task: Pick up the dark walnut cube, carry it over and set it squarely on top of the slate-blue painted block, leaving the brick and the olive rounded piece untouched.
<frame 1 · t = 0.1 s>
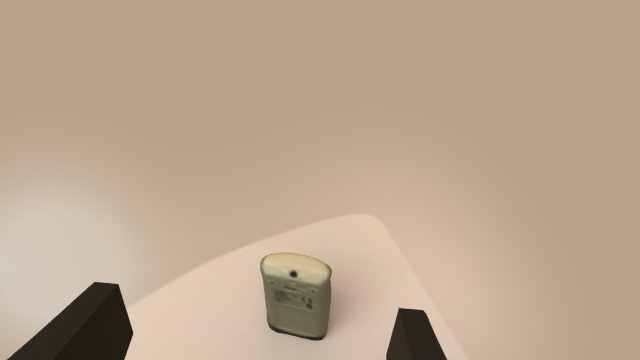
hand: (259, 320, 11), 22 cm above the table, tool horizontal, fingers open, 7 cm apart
olive rounded piece: (294, 328, 37), on the table
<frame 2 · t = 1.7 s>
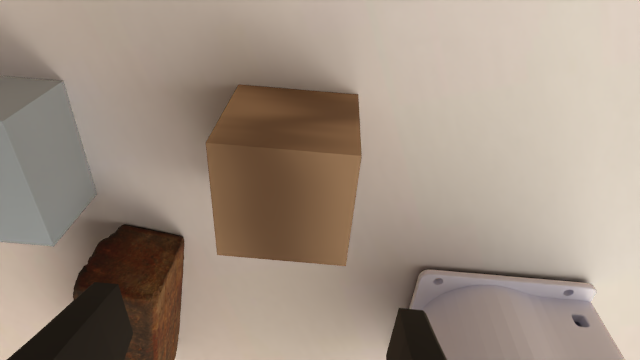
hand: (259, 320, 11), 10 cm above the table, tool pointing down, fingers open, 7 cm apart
walnut cube: (296, 141, 19), on the table
brick: (153, 286, 26), on the table
slate block: (20, 135, 20), on the table
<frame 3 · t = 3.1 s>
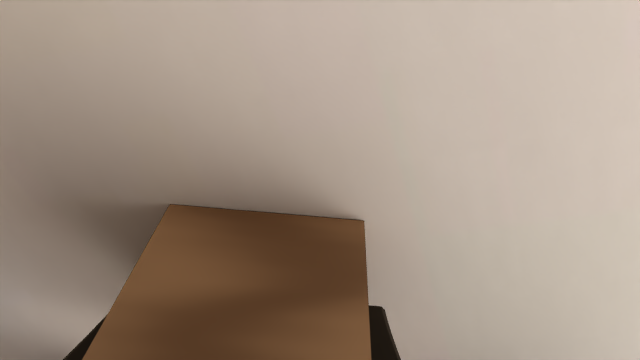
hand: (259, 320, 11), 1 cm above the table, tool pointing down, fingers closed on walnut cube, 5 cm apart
walnut cube: (267, 279, 12), on the table, touching gripper
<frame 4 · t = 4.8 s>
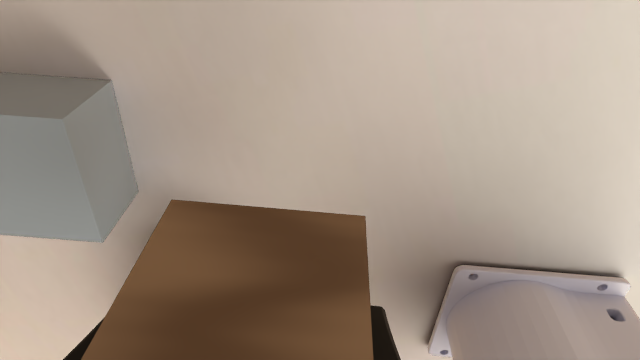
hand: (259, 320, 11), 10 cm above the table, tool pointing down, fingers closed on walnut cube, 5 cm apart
walnut cube: (268, 274, 12), point 8 cm above the table, touching gripper
slate block: (66, 134, 20), on the table
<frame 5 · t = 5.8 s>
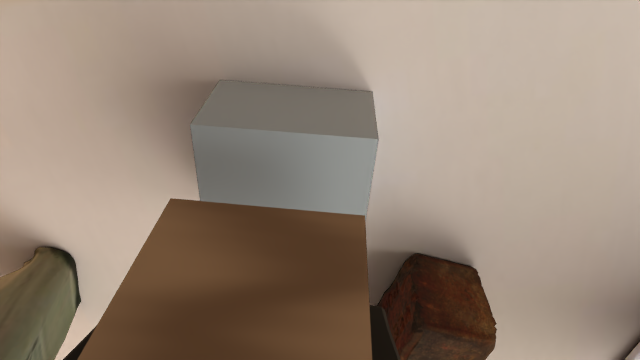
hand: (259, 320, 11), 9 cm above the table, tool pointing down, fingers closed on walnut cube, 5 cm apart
olive rounded piece: (64, 280, 24), on the table
walnut cube: (268, 274, 12), point 7 cm above the table, touching gripper
brick: (402, 314, 24), on the table
slate block: (294, 149, 18), on the table
when the fingers open (7 cm above the table, at t = 6.7 s): walnut cube drops 1 cm, resting on slate block.
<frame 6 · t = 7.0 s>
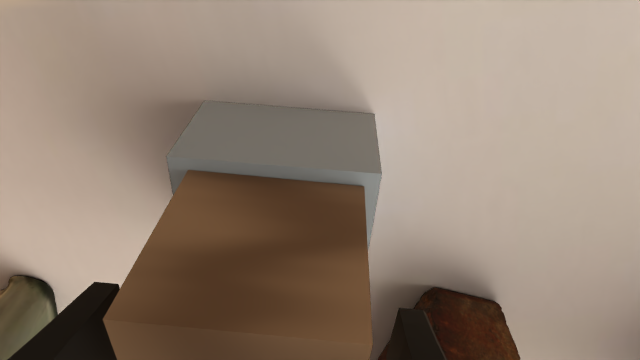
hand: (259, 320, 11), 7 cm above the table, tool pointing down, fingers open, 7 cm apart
olive rounded piece: (42, 309, 22), on the table
walnut cube: (274, 242, 13), point 4 cm above the table, touching slate block
brick: (416, 347, 23), on the table
slate block: (288, 174, 17), on the table, touching walnut cube
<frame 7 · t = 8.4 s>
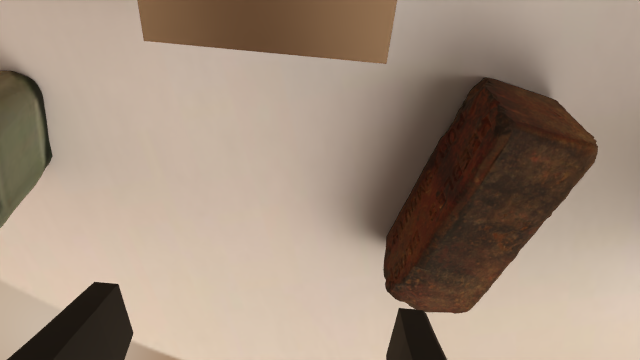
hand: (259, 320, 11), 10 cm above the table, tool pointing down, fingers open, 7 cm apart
olive rounded piece: (31, 126, 20), on the table
brick: (455, 176, 21), on the table
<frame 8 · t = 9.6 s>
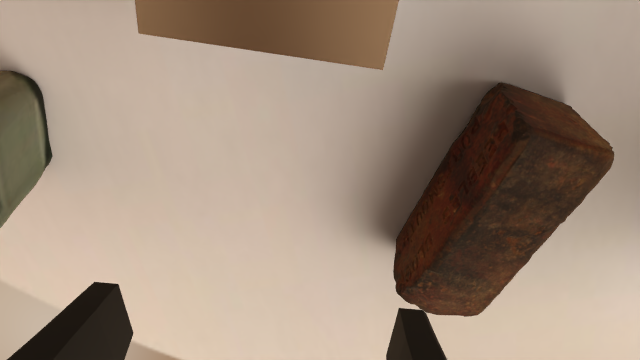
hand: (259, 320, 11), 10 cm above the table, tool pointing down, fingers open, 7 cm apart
olive rounded piece: (31, 126, 20), on the table
brick: (466, 180, 21), on the table
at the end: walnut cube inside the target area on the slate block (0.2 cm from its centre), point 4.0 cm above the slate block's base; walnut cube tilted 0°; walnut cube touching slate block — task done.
